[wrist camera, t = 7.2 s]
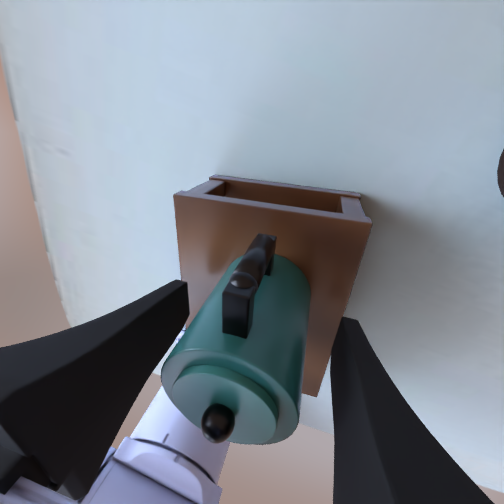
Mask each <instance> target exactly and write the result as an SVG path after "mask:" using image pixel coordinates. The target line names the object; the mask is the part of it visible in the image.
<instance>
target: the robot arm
mask: <svg viewBox="0 0 504 504" xmlns="http://www.w3.org/2000/svg"><path fill="white" fill-rule="evenodd" d="M189 315H190V308H189V295H188V283H187V282H185V281H181V280H174V281H172V282H170V283H168V284H166V285H164V286H162V287H160V288H159V289H157V290H155V291H153V292H151V293H149V294H147V295H145V296H144V297H142V298H140V299H138V300H136V301H134V302H132V303H130V304H128V305H126V306H124V307H122V308H119V309H117V310H115V311H113V312H111V313H109V314H106V315H104V316H102V317H99V318H97V319H94V320H92V321H89V322H87V323H84V324H81V325H78V326H75V327H73V328H70V329H67V330H64V331H61V332H58V333H55V334H52V335H48V336H45V337H41V338H38V339H34V340H30V341H27V342H23V343H19V344H15V345H11V346H6V347H1V348H0V504H219V500H220V496H221V493H222V488H221V487H219V486H217V483H218V480H219V477H220V474H221V470H222V467H223V464H224V461H225V457H226V454H227V451H228V447H229V444H230V442H229V441H224V442H222V443H218V444H215V443H211V442H209V441H208V440H207V439H206V438H205V437H204V436H203V433H202V431H201V429H200V428H198V427H197V426H195V425H194V424H193V423H191V422H190V421H189V420H188V419H187V418H186V417H185V416H184V415H183V414H182V413H181V412H180V411H179V410H178V409H177V408H176V407H175V405H174V404H173V403H172V402H171V401H170V399H169V398H168V396H167V394H166V393H165V391H164V388H163V386H161V388H160V390H159V391H158V393H157V395H156V396H155V398H154V399H153V401H152V403H151V404H150V406H149V407H148V409H147V411H146V412H145V414H144V415H143V417H142V419H141V420H140V422H139V423H138V425H137V426H136V428H135V430H134V431H133V433H132V434H131V436H130V438H129V437H127V436H126V437H125V438H124V440H123V441H122V443H121V445H120V446H119V447H118V449H115V448H113V447H111V445H112V443H113V441H114V439H115V437H116V435H117V433H118V431H119V429H120V427H121V425H122V424H123V422H124V420H125V418H126V416H127V414H128V413H129V411H130V409H131V407H132V405H133V403H134V402H135V400H136V398H137V396H138V394H139V393H140V391H141V389H142V388H143V386H144V384H145V383H146V381H147V379H148V378H149V376H150V375H151V373H152V372H153V370H154V369H155V368H156V366H157V365H158V363H159V362H160V361H161V359H162V358H163V356H164V355H165V354H166V352H167V351H168V349H169V348H170V347H171V345H172V344H173V342H174V341H175V339H176V344H177V343H178V341H179V340H180V338H181V337H182V335H183V334H184V332H185V331H182V328H183V327H184V325H185V323H186V321H187V319H188V317H189ZM330 377H331V392H332V406H333V421H334V441H335V445H334V489H333V504H494V503H493V502H492V501H491V500H490V499H489V498H488V497H487V496H486V494H484V492H483V491H482V490H481V489H480V488H479V487H478V486H477V485H476V484H475V483H474V482H473V481H472V480H471V479H470V477H469V476H468V475H467V474H466V473H465V472H464V471H463V470H462V469H461V468H460V466H459V465H458V464H457V463H456V462H455V461H454V460H453V459H452V457H451V456H450V455H449V454H448V453H447V452H446V450H445V449H444V448H443V447H442V446H441V445H440V443H439V442H438V441H437V440H436V439H435V438H434V436H433V435H432V434H431V433H430V432H429V430H428V429H427V428H426V427H425V425H424V424H423V423H422V422H421V420H420V419H419V418H418V416H417V415H416V414H415V413H414V411H413V410H412V409H411V407H410V406H409V405H408V403H407V402H406V400H405V399H404V398H403V396H402V395H401V393H400V392H399V390H398V389H397V387H396V386H395V384H394V383H393V381H392V380H391V378H390V377H389V375H388V374H387V372H386V370H385V369H384V367H383V365H382V364H381V362H380V360H379V359H378V357H377V355H376V354H375V352H374V350H373V348H372V347H371V345H370V343H369V341H368V339H367V337H366V336H365V334H364V332H363V330H362V328H361V326H360V324H359V322H358V321H357V320H355V319H351V318H346V317H342V318H341V321H340V324H339V327H338V330H337V333H336V336H335V340H334V343H333V346H332V349H331V366H330ZM50 489H51V490H50ZM52 490H53V491H52ZM54 491H55V492H54Z"/></svg>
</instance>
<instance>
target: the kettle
mask: <svg viewBox="0 0 504 504" xmlns="http://www.w3.org/2000/svg"><path fill="white" fill-rule="evenodd" d="M276 240H277V237H276V236H273V235H267V234H261V233H258V234H257V236H256V237H255V238H254V240H253V241H252V243H251V244H250V246H249V247H248V249H247V251H246V252H245V254H244V255H243V256H241V257H239V258H237V259H236V260H235V261H233V262H232V263H231V265H230V266H229V267H228V269H227V270H226V272H225V273H224V275H223V276H222V278H221V279H220V281H219V282H218V284H217V285H216V287H215V288H214V289H213V291H212V292H211V294H210V295H209V297H208V298H207V300H206V301H205V303H204V304H203V306H202V307H201V309H200V310H199V312H198V313H197V315H196V316H195V318H194V319H193V321H192V322H191V324H190V325H189V326H188V328H187V329H186V331H185V332H184V334H183V335H182V337H181V338H180V340H179V341H178V343H177V344H176V346H175V347H174V349H173V350H172V352H171V353H170V355H169V356H168V358H167V359H166V361H165V362H164V364H163V366H162V370H161V382H162V386H163V388H164V391H165V393H166V394H167V396H168V398H169V399H170V401H171V402H172V403H173V404H174V405H175V407H176V408H177V409H178V410H179V411H180V412H181V413H182V414H183V415H184V416H185V417H186V418H187V419H188V420H189V421H190V422H191V423H193V424H194V425H195V426H197V427H198V428H200V429H201V431H202V433H203V436H204V437H205V438H206V439H207V440H208V441H209V442H211V443H215V444H218V443H222V442H224V441H229V442H233V443H239V444H256V445H258V444H259V445H264V444H272V443H277V442H280V441H282V440H285V439H286V438H288V437H289V436H290V435H292V433H293V432H294V431H295V430H296V428H297V425H298V422H299V415H300V405H301V394H302V384H303V373H304V362H305V352H306V341H307V331H308V320H309V310H310V299H311V290H310V286H309V283H308V280H307V278H306V277H305V275H304V274H303V272H302V271H301V270H300V269H299V268H298V267H297V266H296V265H295V264H294V263H293V262H291V261H290V260H288V259H286V258H284V257H282V256H280V255H277V254H275V248H276Z"/></svg>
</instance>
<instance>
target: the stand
mask: <svg viewBox="0 0 504 504" xmlns="http://www.w3.org/2000/svg"><path fill="white" fill-rule="evenodd" d="M173 197H174V208H175V218H176V229H177V240H178V250H179V261H180V271H181V281H185V282H187V283H188V295H189V308H190V315H189V317H188V319H187V321H186V323H185V324H186V329H187V328H188V326H189V325H190V324H191V322H192V321H193V319H194V318H195V316H196V315H197V313H198V312H199V310H200V309H201V307H202V306H203V304H204V303H205V301H206V300H207V298H208V297H209V295H210V294H211V292H212V291H213V289H214V288H215V287H216V285H217V284H218V282H219V281H220V279H221V278H222V276H223V275H224V273H225V272H226V270H227V269H228V267H229V266H230V265H231V263H232V262H233V261H235V260H236V259H237V258H239V257H241V256H243V255H244V254H245V252H246V251H247V249H248V247H249V246H250V244H251V243H252V241H253V240H254V238H255V237H256V236H257V234H258V233H261V234H267V235H273V236H276V237H277V240H276V248H275V254H277V255H280V256H282V257H284V258H286V259H288V260H290V261H291V262H293V263H294V264H295V265H296V266H297V267H298V268H299V269H300V270H301V271H302V272H303V274H304V275H305V277H306V278H307V280H308V283H309V286H310V290H311V299H310V310H309V320H308V331H307V341H306V352H305V362H304V373H303V384H302V393H303V394H307V395H310V396H314V397H317V395H318V392H319V389H320V386H321V383H322V380H323V377H324V374H325V370H326V367H327V364H328V361H329V358H330V355H331V349H332V346H333V343H334V340H335V336H336V333H337V330H338V327H339V324H340V321H341V318H342V317H343V315H344V312H345V309H346V305H347V302H348V299H349V296H350V293H351V290H352V287H353V284H354V281H355V278H356V274H357V271H358V268H359V265H360V262H361V259H362V256H363V253H364V250H365V247H366V243H367V240H368V237H369V234H370V231H371V228H372V225H373V224H372V221H371V219H370V218H369V217H366V216H365V214H364V211H363V209H362V206H361V204H360V198H361V196H360V194H359V193H356V192H348V191H339V190H331V189H323V188H315V187H307V186H299V185H291V184H283V183H275V182H267V181H259V180H251V179H243V178H235V177H227V176H219V175H213V176H211V177H209V181H207V182H205V183H203V184H201V185H199V186H197V187H195V188H193V189H191V190H189V191H180V192H178V193H176V194H174V195H173Z"/></svg>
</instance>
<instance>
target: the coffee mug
mask: <svg viewBox="0 0 504 504" xmlns="http://www.w3.org/2000/svg"><path fill="white" fill-rule="evenodd" d="M497 176H498V185H499V188H500V191H501V194H502V195H503V197H504V150H503V152H502V154H501V157H500V160H499V165H498V170H497Z"/></svg>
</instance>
